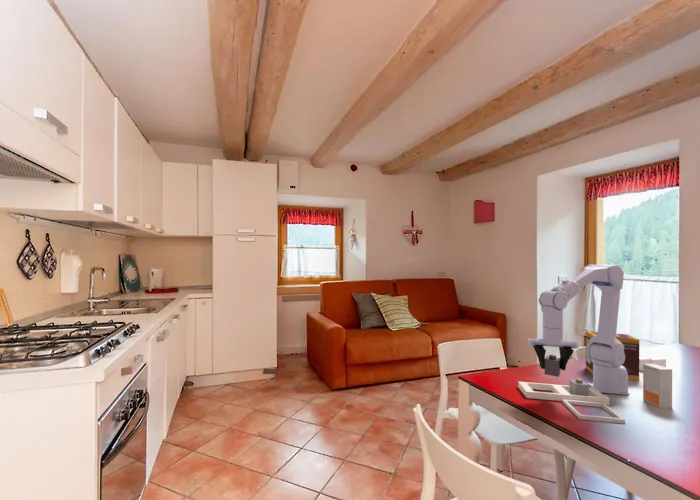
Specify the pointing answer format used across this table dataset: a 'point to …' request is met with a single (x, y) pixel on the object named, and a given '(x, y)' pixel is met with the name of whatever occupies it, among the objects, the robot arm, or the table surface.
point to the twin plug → (579, 387)
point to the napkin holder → (651, 362)
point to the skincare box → (657, 385)
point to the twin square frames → (559, 393)
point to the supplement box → (629, 349)
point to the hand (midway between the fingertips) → (552, 368)
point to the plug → (552, 365)
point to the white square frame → (597, 418)
